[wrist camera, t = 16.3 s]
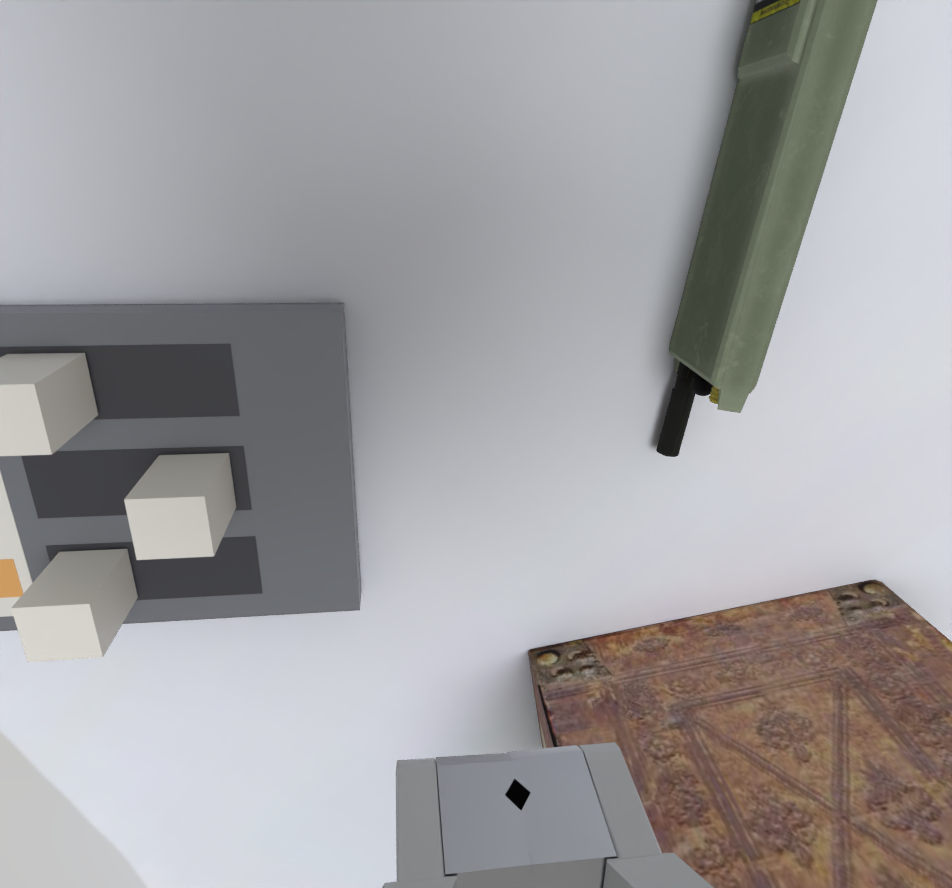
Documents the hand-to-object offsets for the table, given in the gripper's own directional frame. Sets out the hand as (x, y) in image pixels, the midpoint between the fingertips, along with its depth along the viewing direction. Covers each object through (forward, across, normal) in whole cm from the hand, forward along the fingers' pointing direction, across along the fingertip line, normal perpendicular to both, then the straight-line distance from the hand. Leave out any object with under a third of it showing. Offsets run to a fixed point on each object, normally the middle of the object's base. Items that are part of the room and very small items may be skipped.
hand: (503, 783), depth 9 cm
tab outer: (+27, +18, +13) cm, 35 cm away
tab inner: (+27, +18, +2) cm, 32 cm away
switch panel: (+29, +15, +8) cm, 34 cm away
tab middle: (+27, +12, +8) cm, 30 cm away
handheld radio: (+30, -16, -5) cm, 34 cm away
